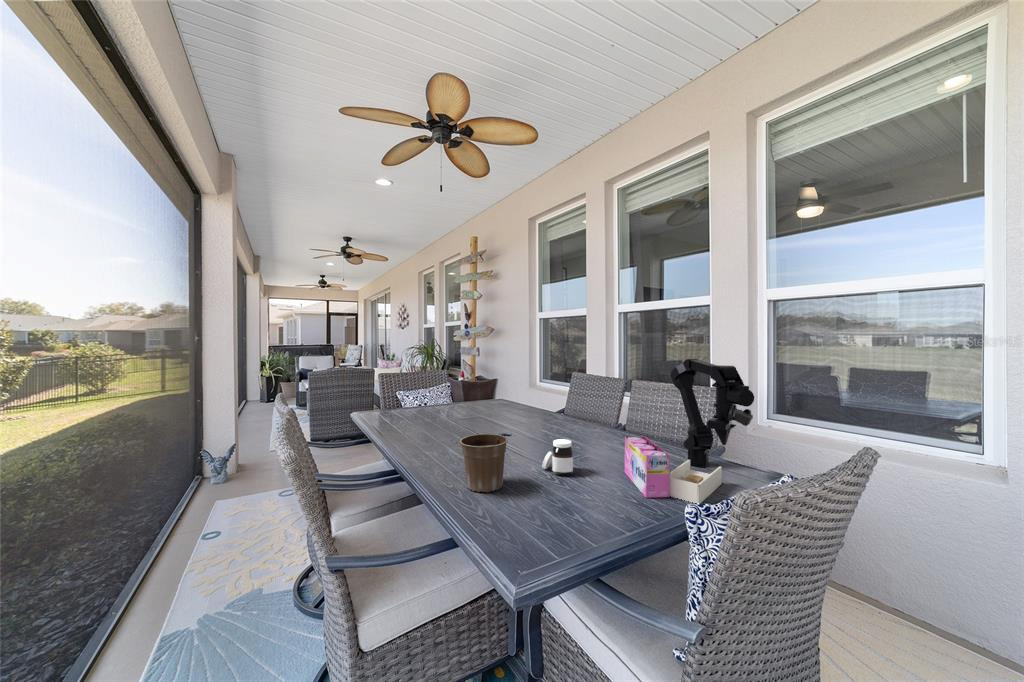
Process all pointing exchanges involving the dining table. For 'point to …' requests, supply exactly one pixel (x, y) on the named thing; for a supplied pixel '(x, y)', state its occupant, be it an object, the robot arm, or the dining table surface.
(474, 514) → the dining table surface
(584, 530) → the dining table surface
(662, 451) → the gum box
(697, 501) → the channel
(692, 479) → the oak block
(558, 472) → the spread jar
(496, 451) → the plant pot
